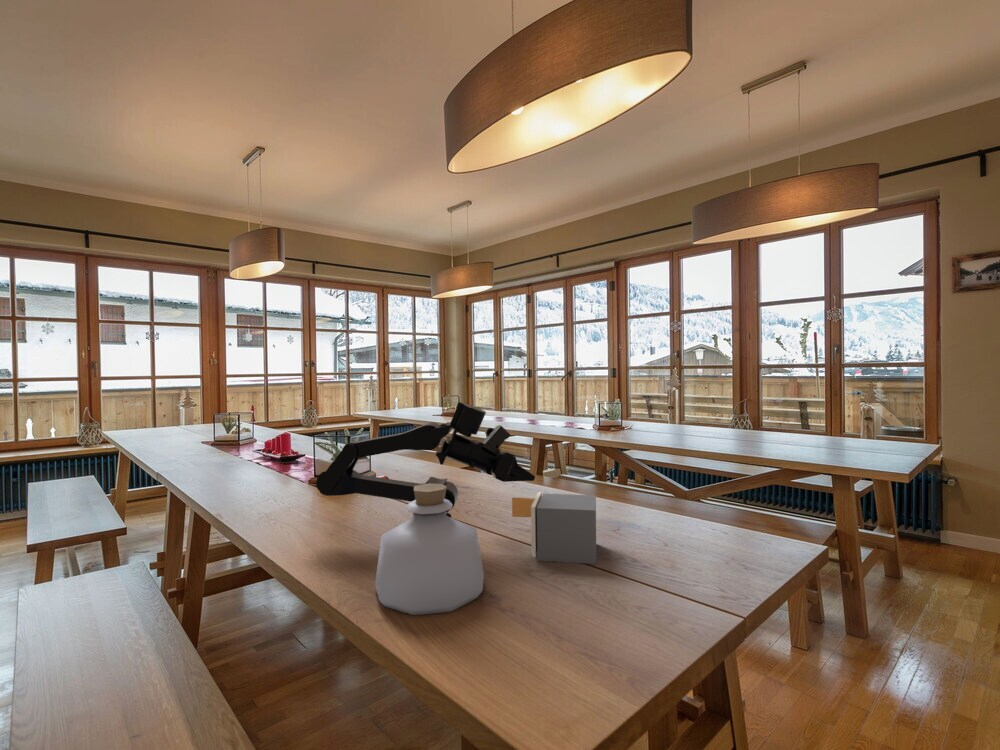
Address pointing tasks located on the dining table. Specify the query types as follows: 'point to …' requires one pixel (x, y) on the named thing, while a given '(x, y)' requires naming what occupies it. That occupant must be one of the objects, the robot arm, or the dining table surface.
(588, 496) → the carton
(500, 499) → the dining table surface
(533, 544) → the white drawer unit
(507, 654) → the dining table surface
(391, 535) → the bottle
